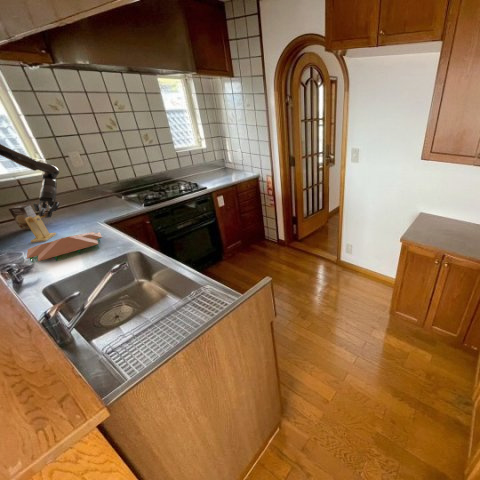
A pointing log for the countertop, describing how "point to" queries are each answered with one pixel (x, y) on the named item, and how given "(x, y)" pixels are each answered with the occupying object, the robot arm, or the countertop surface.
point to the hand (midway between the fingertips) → (45, 217)
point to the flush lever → (40, 217)
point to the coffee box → (22, 215)
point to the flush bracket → (39, 229)
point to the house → (63, 246)
